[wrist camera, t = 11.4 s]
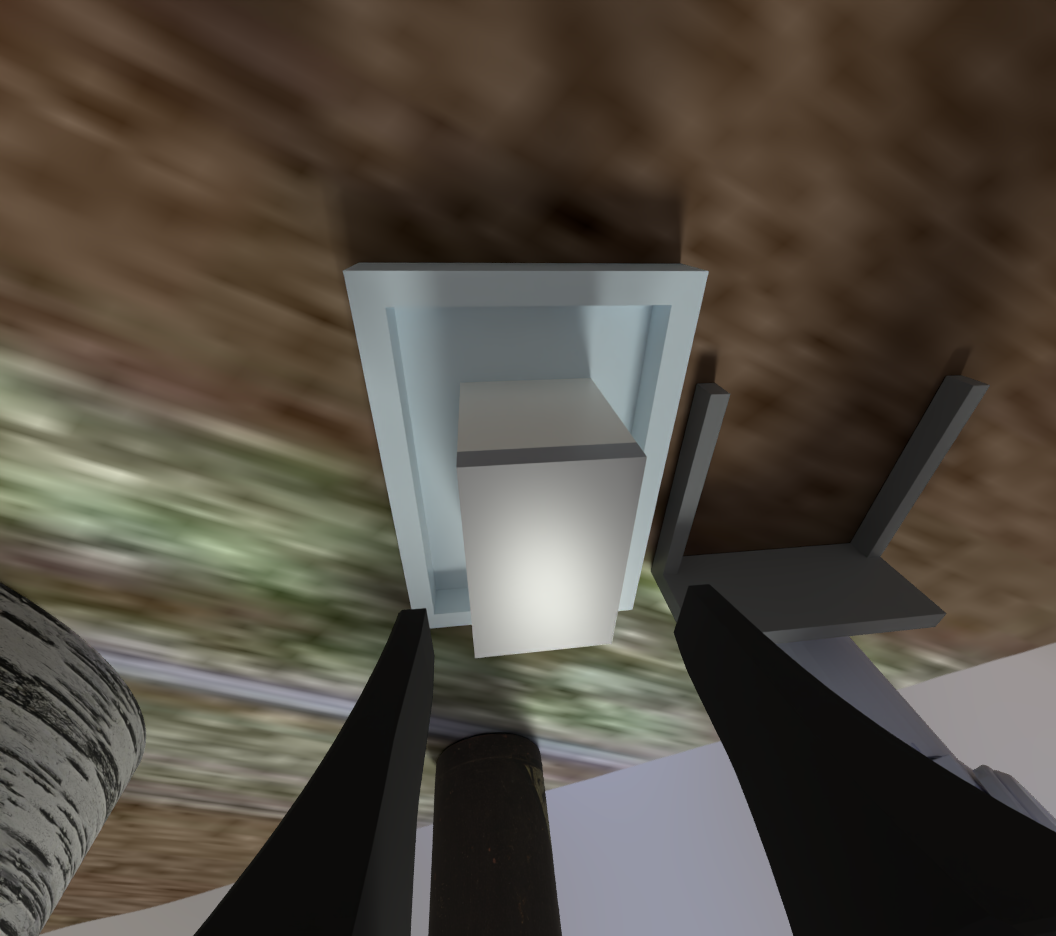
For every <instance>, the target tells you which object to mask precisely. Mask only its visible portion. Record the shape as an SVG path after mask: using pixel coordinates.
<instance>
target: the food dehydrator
mask: <svg viewBox="0 0 1056 936" xmlns="http://www.w3.org/2000/svg"><path fill="white" fill-rule="evenodd" d="M145 745H146V728H145V723H144V719H143V715H142V713H141V710H140V707H139V705H138V703H137V701H136V699H135V697H134V696H133V694H132V692H131V691H130V689H129V688H128V686H127V685H126V683H125V682H124V681H123V679H122V678H121V677H120V676H119V674H118V673H117V672H116V671H115V670H114V668H113V667H112V666H111V665H110V664H109V663H108V662H107V661H106V660H105V659H104V658H103V657H102V656H101V655H100V654H99V653H98V652H97V651H96V650H95V649H94V648H93V647H91V646H90V645H89V644H88V643H87V642H86V641H85V640H83V639H82V638H81V637H80V636H78V635H77V634H76V633H75V632H74V631H72V630H71V629H70V628H68V627H67V626H66V625H65V624H63V623H62V622H60V621H59V620H58V619H56V618H55V617H53V616H52V615H50V614H49V613H48V612H46V611H45V610H43V609H42V608H40V607H39V606H37V605H36V604H34V603H33V602H31V601H30V600H28V599H26V598H25V597H23V596H22V595H20V594H18V593H17V592H15V591H13V590H12V589H10V588H8V587H7V586H5V585H3V584H2V583H0V936H38V935H39V934H40V932H41V930H42V929H43V927H44V925H45V923H46V922H47V920H48V918H49V917H50V915H51V913H52V912H53V910H54V908H55V906H56V905H57V903H58V901H59V900H60V898H61V896H62V895H63V893H64V891H65V889H66V888H67V886H68V884H69V883H70V881H71V879H72V878H73V876H74V874H75V872H76V871H77V869H78V867H79V866H80V864H81V862H82V861H83V859H84V857H85V855H86V854H87V852H88V850H89V849H90V847H91V845H92V844H93V842H94V840H95V838H96V837H97V835H98V833H99V832H100V830H101V828H102V827H103V825H104V823H105V821H106V820H107V818H108V816H109V815H110V813H111V811H112V809H113V808H114V806H115V804H116V803H117V801H118V799H119V798H120V796H121V794H122V792H123V791H124V789H125V787H126V786H127V784H128V782H129V781H130V779H131V777H132V775H133V774H134V772H135V770H136V769H137V767H138V765H139V763H140V761H141V759H142V756H143V753H144V750H145Z"/></svg>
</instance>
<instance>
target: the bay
mask: <svg viewBox="0 0 1056 936" xmlns="http://www.w3.org/2000/svg"><path fill="white" fill-rule="evenodd" d="M989 386H990V385H988V384H985V383H982V382H980V381H977V380H974V379H971V378H968V377H965V376H962V375H961V376H946V377H945V379H944V381H943V383H942V384H941V386H940V388H939V390H938V391H937V393H936V395H935V397H934V398H933V400H932V402H931V404H930V405H929V407H928V409H927V411H926V412H925V414H924V416H923V417H922V419H921V421H920V423H919V424H918V426H917V428H916V430H915V431H914V433H913V435H912V437H911V438H910V440H909V442H908V444H907V445H906V447H905V449H904V451H903V452H902V454H901V456H900V458H899V459H898V461H897V463H896V464H895V466H894V468H893V470H892V471H891V473H890V475H889V477H888V478H887V480H886V482H885V484H884V485H883V487H882V489H881V491H880V492H879V494H878V496H877V498H876V499H875V501H874V503H873V505H872V506H871V508H870V510H869V511H868V513H867V515H866V517H865V518H864V520H863V522H862V524H861V525H860V527H859V529H858V531H857V532H856V534H855V536H854V538H853V539H852V541H851V543H846V544H833V545H820V546H808V547H795V548H783V549H770V550H757V551H745V552H732V553H719V554H707V555H694V556H683V553H684V550H685V547H686V543H687V540H688V536H689V533H690V530H691V526H692V523H693V519H694V516H695V513H696V509H697V506H698V502H699V499H700V495H701V492H702V489H703V485H704V482H705V478H706V475H707V472H708V468H709V465H710V461H711V458H712V455H713V451H714V448H715V444H716V441H717V438H718V434H719V431H720V427H721V424H722V420H723V417H724V414H725V410H726V407H727V403H728V400H729V397H730V393H728V392H727V391H725V390H724V389H723V388H721V387H720V386H718V385H717V384H716V383H700V384H697V385H696V390H695V394H694V398H693V402H692V406H691V410H690V414H689V418H688V422H687V426H686V430H685V435H684V439H683V443H682V447H681V451H680V455H679V459H678V463H677V467H676V471H675V476H674V480H673V484H672V488H671V492H670V496H669V500H668V504H667V508H666V512H665V516H664V521H663V525H662V529H661V533H660V537H659V541H658V545H657V549H656V553H655V557H654V562H653V566H652V570H651V573H652V575H653V577H654V579H655V581H656V583H657V585H658V587H659V589H660V591H661V593H662V595H663V597H664V599H665V601H666V603H667V605H668V607H669V609H670V611H671V613H672V615H673V617H674V619H675V621H676V623H677V620H678V617H679V614H680V611H681V608H682V605H683V602H684V598H685V595H686V592H687V589H688V586H691V585H703V584H710V585H711V586H712V587H713V588H714V589H715V590H717V591H718V592H719V593H720V594H721V595H722V596H723V597H724V598H725V599H726V600H727V601H729V602H730V603H731V604H732V605H733V606H734V607H735V608H736V609H737V610H738V611H739V612H740V613H742V614H743V615H744V616H745V617H746V618H747V619H748V620H749V621H750V622H751V623H753V624H754V625H755V626H756V627H757V628H758V629H759V630H760V631H761V632H763V633H764V634H765V635H766V636H767V637H768V638H769V639H770V640H772V641H773V642H774V643H775V644H779V643H788V642H798V641H807V640H816V639H826V638H835V637H845V636H854V635H863V634H873V633H882V632H891V631H901V630H910V629H920V628H929V627H935V626H936V625H937V624H938V623H939V622H940V621H941V619H942V618H943V617H944V616H945V615H946V613H945V612H944V611H943V610H942V609H941V608H940V607H938V606H937V605H936V604H935V603H934V602H932V601H931V600H930V599H929V598H928V597H927V596H925V595H924V594H923V593H922V592H921V591H920V590H918V589H917V588H916V587H915V586H914V585H913V584H911V583H910V582H909V581H908V580H907V579H906V578H904V577H903V576H902V575H901V574H900V573H898V572H897V571H896V570H895V569H894V568H893V567H891V566H890V565H889V564H888V563H887V562H886V561H884V560H883V559H882V558H881V557H880V556H881V555H882V553H883V552H884V550H885V548H886V547H887V545H888V544H889V542H890V541H891V539H892V538H893V536H894V534H895V533H896V531H897V530H898V528H899V527H900V525H901V524H902V522H903V520H904V519H905V517H906V516H907V514H908V513H909V511H910V509H911V508H912V506H913V505H914V503H915V502H916V500H917V499H918V497H919V495H920V494H921V492H922V491H923V489H924V488H925V486H926V484H927V483H928V481H929V480H930V478H931V477H932V475H933V474H934V472H935V470H936V469H937V467H938V466H939V464H940V463H941V461H942V460H943V458H944V456H945V455H946V453H947V452H948V450H949V449H950V447H951V445H952V444H953V442H954V441H955V439H956V438H957V436H958V435H959V433H960V431H961V430H962V428H963V427H964V425H965V424H966V422H967V421H968V419H969V417H970V416H971V414H972V413H973V411H974V410H975V408H976V406H977V405H978V403H979V402H980V400H981V399H982V397H983V396H984V394H985V392H986V391H987V389H988V388H989Z"/></svg>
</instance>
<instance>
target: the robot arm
mask: <svg viewBox="0 0 1056 936" xmlns="http://www.w3.org/2000/svg"><path fill="white" fill-rule="evenodd" d="M674 635H675V638H676V641H677V644H678V647H679V650H680V653H681V656H682V658H683V661H684V664H685V667H686V669H687V672H688V674H689V676H690V678H691V680H692V682H693V684H694V686H695V688H696V691H697V693H698V695H699V697H700V699H701V701H702V703H703V705H704V707H705V709H706V711H707V713H708V715H709V717H710V719H711V722H712V724H713V726H714V728H715V730H716V732H717V734H718V736H719V738H720V740H721V742H722V744H723V746H724V748H725V750H726V752H727V754H728V756H729V759H730V761H731V763H732V766H733V768H734V770H735V772H736V775H737V777H738V780H739V782H740V785H741V788H742V790H743V793H744V795H745V798H746V800H747V803H748V806H749V808H750V811H751V814H752V816H753V818H754V821H755V824H756V827H757V830H758V833H759V835H760V838H761V841H762V844H763V846H764V849H765V852H766V855H767V857H768V860H769V863H770V866H771V869H772V872H773V875H774V878H775V881H776V884H777V887H778V890H779V893H780V896H781V899H782V902H783V905H784V908H785V911H786V914H787V917H788V920H789V923H790V926H791V930H792V933H793V936H1056V819H1055V818H1054V817H1053V816H1052V815H1051V814H1050V813H1049V812H1048V811H1047V810H1046V809H1045V808H1044V807H1043V806H1042V805H1041V804H1040V803H1039V802H1038V801H1037V800H1036V799H1035V798H1034V797H1033V796H1032V795H1031V794H1030V793H1029V792H1028V791H1027V790H1026V789H1025V788H1024V787H1023V786H1022V785H1021V784H1019V782H1018V781H1017V780H1016V779H1014V778H1013V777H1012V776H1010V775H1008V774H1005V773H1002V772H1000V771H997V770H992V769H991V768H990V767H988V766H986V765H981V766H979V767H978V768H976V769H974V770H972V769H971V768H969V767H968V766H966V765H965V764H964V763H962V762H961V761H959V760H958V759H957V758H956V757H955V756H954V754H953V753H952V752H951V751H950V750H949V749H948V748H947V746H946V745H945V744H944V743H943V742H942V741H941V740H940V739H939V737H938V736H937V735H936V734H935V733H934V732H933V731H932V730H931V728H929V726H928V725H927V724H926V723H925V722H924V721H923V720H922V718H921V717H920V716H919V715H918V714H917V713H916V712H915V710H914V709H913V708H912V707H911V706H910V705H909V704H908V702H907V701H906V700H905V699H904V698H903V697H902V696H901V695H900V694H899V692H898V691H897V690H896V689H895V688H894V687H893V685H892V684H891V683H890V682H889V681H888V680H887V679H886V678H885V676H884V675H883V674H882V673H881V672H880V671H879V670H878V669H877V667H876V666H875V665H874V664H873V663H872V662H871V661H870V659H869V658H868V657H867V656H866V655H865V654H864V653H863V652H862V650H861V649H860V648H859V647H858V646H857V645H856V644H855V643H854V641H853V640H852V639H851V638H850V637H849V636H845V637H835V638H826V639H816V640H807V641H798V642H788V643H779V644H775V643H774V642H773V641H772V640H770V639H769V638H768V637H767V636H766V635H765V634H764V633H763V632H761V631H760V630H759V629H758V628H757V627H756V626H755V625H754V624H753V623H751V622H750V621H749V620H748V619H747V618H746V617H745V616H744V615H743V614H742V613H740V612H739V611H738V610H737V609H736V608H735V607H734V606H733V605H732V604H731V603H730V602H729V601H727V600H726V599H725V598H724V597H723V596H722V595H721V594H720V593H719V592H718V591H717V590H715V589H714V588H713V587H712V586H711V585H710V584H703V585H691V586H688V589H687V592H686V595H685V598H684V602H683V605H682V608H681V611H680V614H679V617H678V620H677V624H676V627H675V630H674ZM433 682H434V650H433V645H432V639H431V633H430V627H429V621H428V616H427V610H426V608H421V609H409V610H402V611H401V612H400V613H399V614H398V616H397V619H396V622H395V624H394V627H393V629H392V631H391V634H390V636H389V638H388V641H387V643H386V645H385V647H384V650H383V652H382V654H381V656H380V658H379V660H378V662H377V664H376V666H375V668H374V670H373V672H372V674H371V676H370V678H369V680H368V682H367V684H366V686H365V688H364V690H363V692H362V694H361V695H360V697H359V699H358V701H357V703H356V704H355V706H354V708H353V710H352V711H351V713H350V715H349V717H348V718H347V720H346V722H345V724H344V725H343V727H342V729H341V731H340V732H339V734H338V736H337V737H336V739H335V741H334V742H333V744H332V746H331V747H330V749H329V751H328V752H327V754H326V755H325V757H324V759H323V760H322V762H321V763H320V765H319V766H318V768H317V769H316V771H315V773H314V774H313V776H312V777H311V779H310V780H309V782H308V783H307V785H306V786H305V788H304V789H303V791H302V792H301V794H300V795H299V796H298V798H297V799H296V801H295V802H294V804H293V805H292V807H291V808H290V809H289V811H288V812H287V814H286V815H285V817H284V818H283V819H282V821H281V822H280V824H279V825H278V827H277V828H276V829H275V831H274V832H273V833H272V835H271V836H270V838H269V839H268V840H267V842H266V843H265V844H264V846H263V847H262V848H261V850H260V851H259V853H258V854H257V855H256V856H255V858H254V859H253V860H252V862H251V863H250V864H249V866H248V867H247V868H246V869H245V871H244V872H243V873H242V875H241V876H240V877H239V878H238V880H237V881H236V882H235V884H234V885H233V886H232V887H231V889H230V890H229V891H228V893H227V894H226V895H225V897H224V898H223V899H222V901H221V902H220V903H219V904H218V906H217V907H216V908H215V909H214V911H213V912H212V913H211V915H210V916H209V917H208V918H207V920H206V921H205V922H204V923H203V924H202V926H201V927H200V928H199V929H198V931H197V932H196V933H195V934H194V936H411V915H412V896H413V875H414V859H415V858H414V857H415V843H416V826H417V813H418V804H419V794H420V787H421V780H422V773H423V765H424V758H425V751H426V744H427V736H428V729H429V722H430V714H431V707H432V699H433Z"/></svg>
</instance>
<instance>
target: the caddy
mask: <svg viewBox="0 0 1056 936" xmlns="http://www.w3.org/2000/svg"><path fill="white" fill-rule="evenodd" d="M646 460H647V456H646V455H645V453H644V452H643V450H642V449H641V448H640V446H639V445H638V443H637V442H636V441H635V439H634V438H633V436H632V435H631V434H630V432H629V431H628V429H627V428H626V427H625V425H624V424H623V422H622V421H621V420H620V418H619V417H618V415H617V414H616V413H615V411H614V410H613V408H612V407H611V406H610V404H609V403H608V401H607V400H606V399H605V397H604V396H603V394H602V393H601V392H600V390H599V389H598V387H597V386H596V385H595V383H594V382H593V380H592V379H591V378H575V379H546V380H518V381H489V382H460V397H459V419H458V441H457V464H456V469H457V479H458V490H459V500H460V510H461V520H462V530H463V540H464V550H465V561H466V571H467V581H468V591H469V601H470V611H471V621H472V632H473V642H474V652H475V658H481V657H491V656H500V655H510V654H519V653H529V652H538V651H547V650H557V649H566V648H576V647H585V646H595V645H604V644H612V640H613V635H614V629H615V624H616V619H617V613H618V608H619V603H620V597H621V592H622V587H623V582H624V576H625V571H626V566H627V560H628V555H629V550H630V544H631V539H632V534H633V529H634V523H635V518H636V513H637V507H638V502H639V497H640V491H641V486H642V481H643V476H644V470H645V465H646Z"/></svg>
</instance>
